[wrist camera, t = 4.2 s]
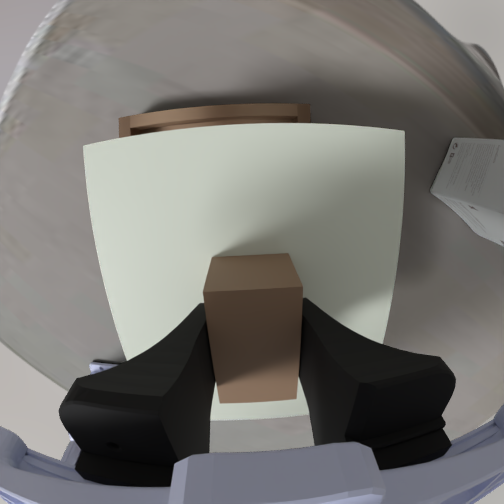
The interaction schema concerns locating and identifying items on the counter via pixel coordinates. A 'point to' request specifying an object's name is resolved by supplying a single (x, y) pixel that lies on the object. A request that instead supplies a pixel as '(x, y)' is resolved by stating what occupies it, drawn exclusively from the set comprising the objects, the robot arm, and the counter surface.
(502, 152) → the skincare box
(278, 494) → the robot arm
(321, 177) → the lid
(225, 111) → the box
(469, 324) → the counter surface
